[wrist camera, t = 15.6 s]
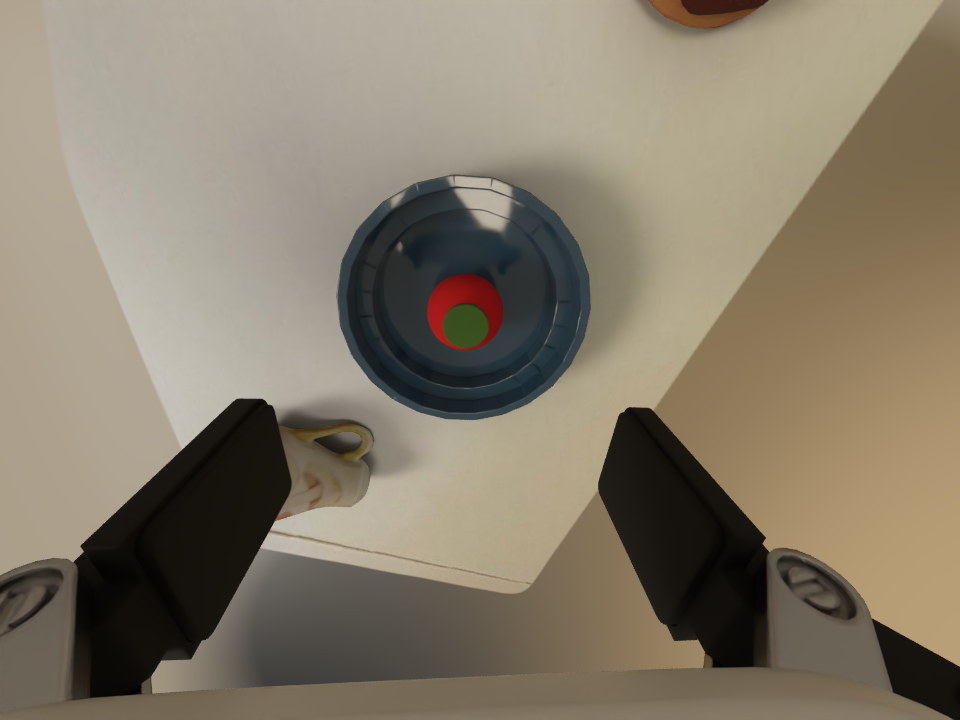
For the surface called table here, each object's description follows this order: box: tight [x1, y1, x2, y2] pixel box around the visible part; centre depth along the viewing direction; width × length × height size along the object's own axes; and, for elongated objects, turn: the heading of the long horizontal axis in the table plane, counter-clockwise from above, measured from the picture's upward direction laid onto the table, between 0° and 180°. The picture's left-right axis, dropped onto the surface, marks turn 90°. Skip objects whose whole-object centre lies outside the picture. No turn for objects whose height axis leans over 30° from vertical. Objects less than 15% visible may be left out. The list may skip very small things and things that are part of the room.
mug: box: [275, 424, 373, 521], centre depth 27 cm, size 8×10×10 cm
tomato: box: [427, 273, 504, 350], centre depth 21 cm, size 5×5×5 cm
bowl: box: [337, 175, 591, 420], centre depth 22 cm, size 15×15×4 cm
